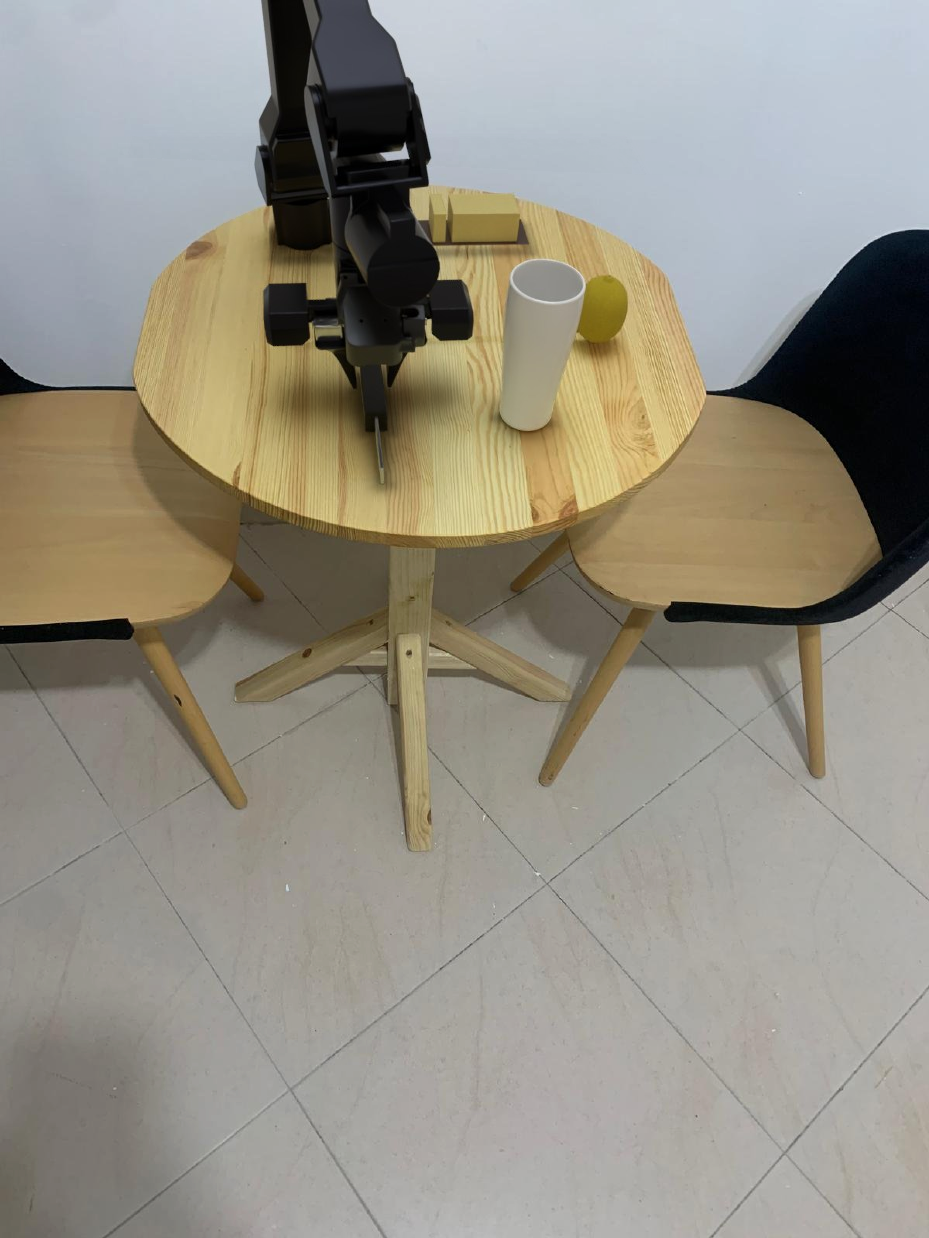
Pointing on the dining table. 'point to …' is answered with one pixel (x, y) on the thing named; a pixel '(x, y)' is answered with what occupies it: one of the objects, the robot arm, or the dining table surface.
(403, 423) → the dining table surface
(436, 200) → the butter slice
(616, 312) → the lemon
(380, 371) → the knife
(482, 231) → the butter stick
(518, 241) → the board
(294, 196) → the robot arm
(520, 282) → the drinking glass
